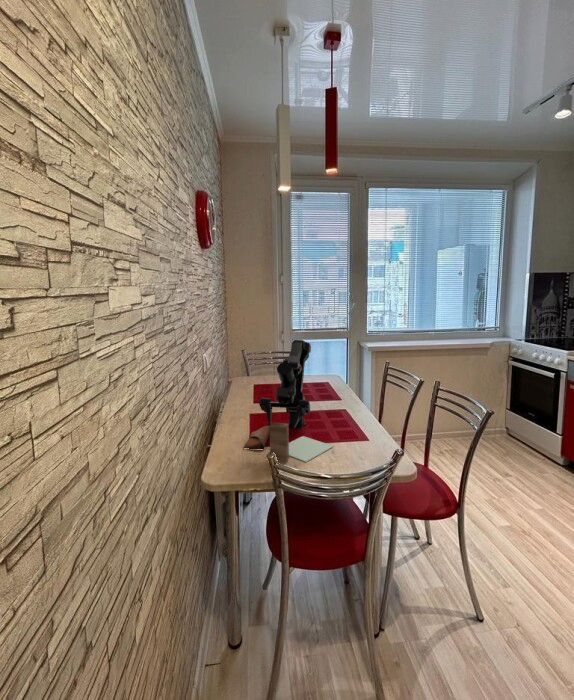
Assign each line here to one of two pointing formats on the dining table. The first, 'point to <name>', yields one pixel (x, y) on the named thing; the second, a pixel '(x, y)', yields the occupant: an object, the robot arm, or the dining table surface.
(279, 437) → the brown wooden block
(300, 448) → the mat
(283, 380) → the robot arm
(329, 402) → the dining table surface
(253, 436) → the sunglasses case
